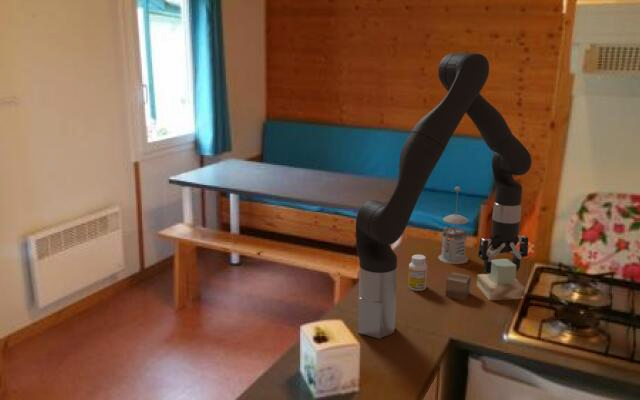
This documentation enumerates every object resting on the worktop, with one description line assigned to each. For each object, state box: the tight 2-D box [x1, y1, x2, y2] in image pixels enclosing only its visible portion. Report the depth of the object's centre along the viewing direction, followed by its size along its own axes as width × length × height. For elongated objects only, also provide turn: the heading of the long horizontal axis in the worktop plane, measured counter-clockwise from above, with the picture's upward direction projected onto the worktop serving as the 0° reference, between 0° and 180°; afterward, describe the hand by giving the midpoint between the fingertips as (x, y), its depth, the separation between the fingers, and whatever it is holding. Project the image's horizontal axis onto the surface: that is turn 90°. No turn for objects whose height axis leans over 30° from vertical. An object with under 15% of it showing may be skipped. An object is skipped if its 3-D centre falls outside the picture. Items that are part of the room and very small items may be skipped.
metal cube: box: [445, 271, 472, 301], centre depth 164 cm, size 6×6×6 cm
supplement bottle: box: [407, 254, 428, 292], centre depth 168 cm, size 5×5×10 cm
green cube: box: [487, 258, 517, 285], centre depth 164 cm, size 6×6×6 cm
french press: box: [438, 186, 469, 265], centre depth 187 cm, size 10×12×25 cm
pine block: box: [476, 273, 525, 301], centre depth 166 cm, size 10×10×4 cm
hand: (501, 271), depth 164 cm, fingers open, 8 cm apart
